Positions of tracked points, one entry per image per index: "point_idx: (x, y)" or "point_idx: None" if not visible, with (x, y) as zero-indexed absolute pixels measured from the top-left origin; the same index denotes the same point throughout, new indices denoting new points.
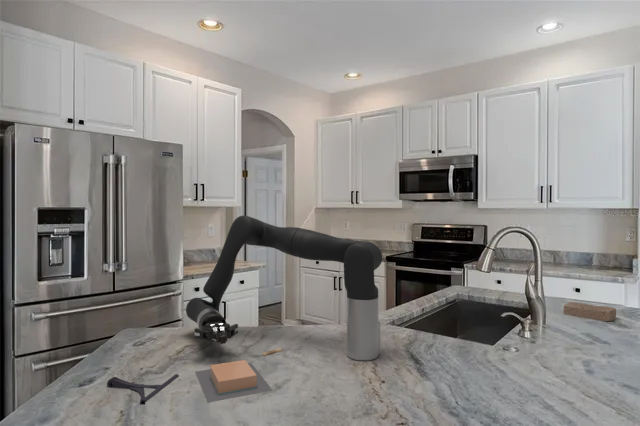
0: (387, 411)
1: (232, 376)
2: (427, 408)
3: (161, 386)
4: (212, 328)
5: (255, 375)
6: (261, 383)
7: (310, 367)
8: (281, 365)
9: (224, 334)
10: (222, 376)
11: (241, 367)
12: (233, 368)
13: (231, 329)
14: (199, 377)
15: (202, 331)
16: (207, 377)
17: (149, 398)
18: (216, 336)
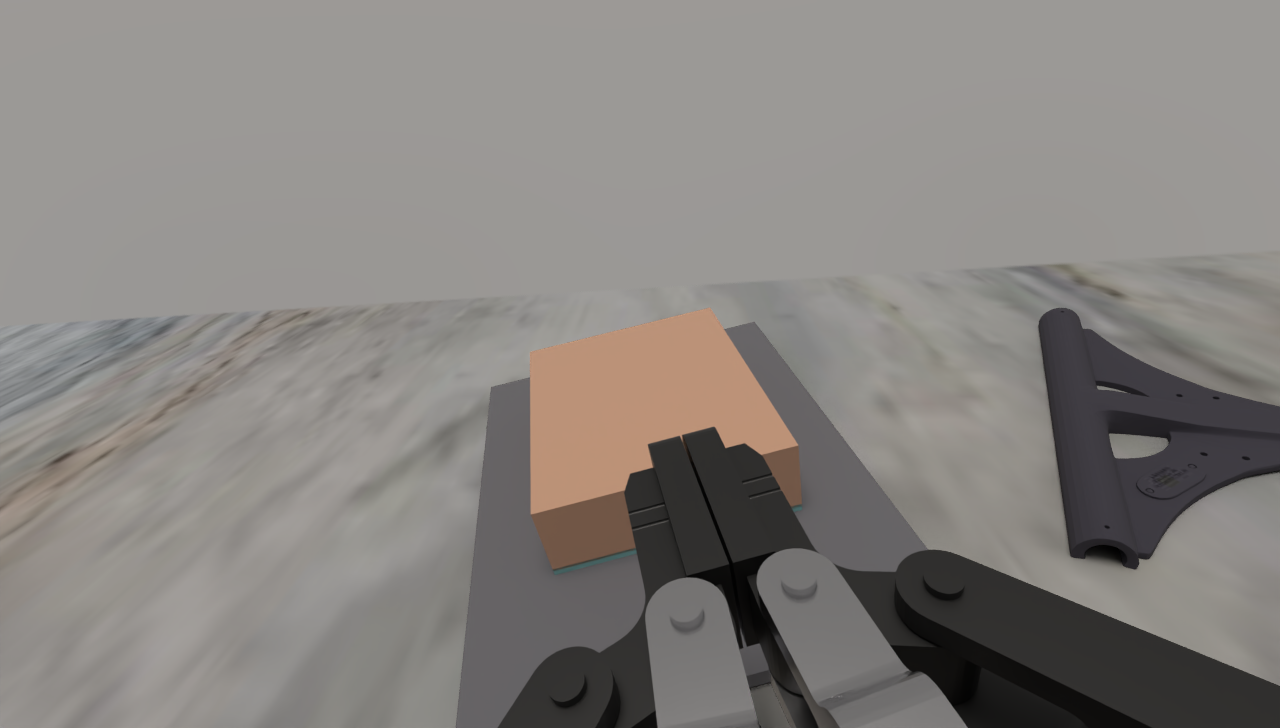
0: (269, 330)
1: (644, 341)
2: (177, 342)
3: (1074, 394)
4: (946, 712)
5: (535, 351)
6: (512, 431)
7: (120, 634)
8: (244, 707)
9: (661, 467)
10: (695, 340)
11: (583, 414)
12: (632, 406)
13: (516, 710)
14: (881, 507)
15: (1143, 635)
16: (819, 503)
17: (1047, 328)
18: (776, 483)
